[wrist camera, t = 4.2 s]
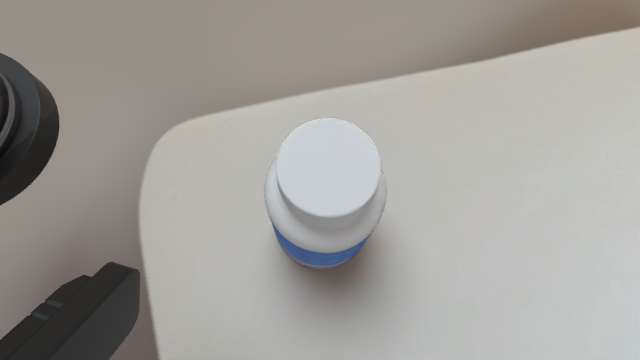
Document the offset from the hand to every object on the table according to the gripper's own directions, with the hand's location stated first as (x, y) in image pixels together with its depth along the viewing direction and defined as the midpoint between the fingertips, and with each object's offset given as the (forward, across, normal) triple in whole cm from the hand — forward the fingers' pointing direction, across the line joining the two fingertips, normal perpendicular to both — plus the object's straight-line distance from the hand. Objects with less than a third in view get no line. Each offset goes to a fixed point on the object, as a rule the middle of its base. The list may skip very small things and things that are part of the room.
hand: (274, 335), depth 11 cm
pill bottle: (+13, 0, +5) cm, 14 cm away
